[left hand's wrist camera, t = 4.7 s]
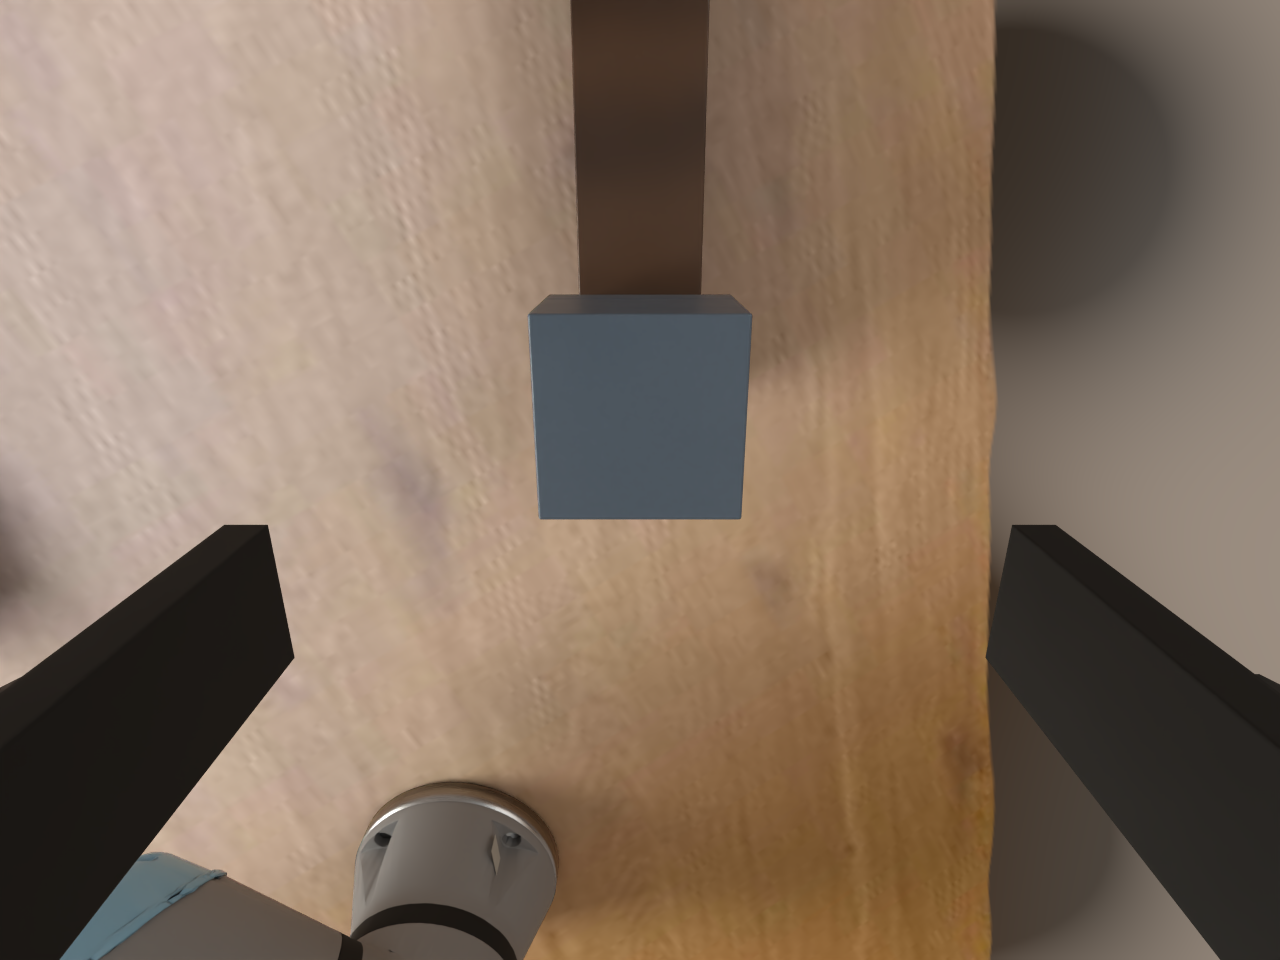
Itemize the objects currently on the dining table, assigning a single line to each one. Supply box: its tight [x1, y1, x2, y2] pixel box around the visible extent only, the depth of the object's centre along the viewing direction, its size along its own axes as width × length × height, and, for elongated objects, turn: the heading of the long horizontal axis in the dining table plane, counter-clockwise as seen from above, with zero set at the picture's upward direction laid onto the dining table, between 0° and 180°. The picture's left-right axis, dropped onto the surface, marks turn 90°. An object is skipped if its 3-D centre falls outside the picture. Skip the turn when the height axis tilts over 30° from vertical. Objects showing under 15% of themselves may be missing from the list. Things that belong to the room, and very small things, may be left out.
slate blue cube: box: [528, 295, 752, 519], centre depth 26 cm, size 7×7×6 cm
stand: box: [571, 0, 709, 295], centre depth 31 cm, size 26×6×16 cm, turn 0°
